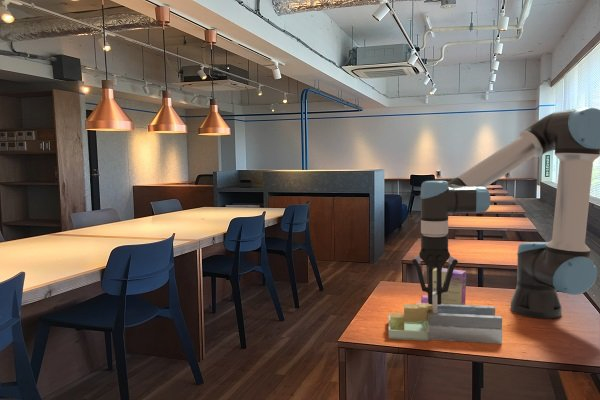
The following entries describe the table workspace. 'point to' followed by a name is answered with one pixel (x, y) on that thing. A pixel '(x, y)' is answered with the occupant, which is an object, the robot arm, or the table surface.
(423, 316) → the beige cube
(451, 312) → the channel
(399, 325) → the khaki cube
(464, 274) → the box
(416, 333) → the tray
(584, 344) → the table surface
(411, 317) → the tan cube
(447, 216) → the robot arm
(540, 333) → the table surface
